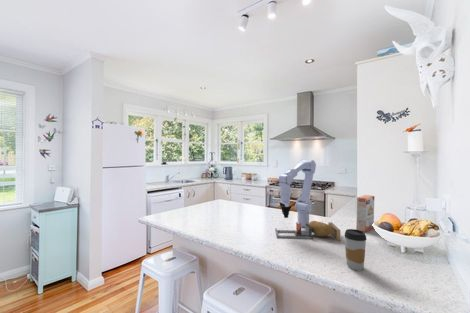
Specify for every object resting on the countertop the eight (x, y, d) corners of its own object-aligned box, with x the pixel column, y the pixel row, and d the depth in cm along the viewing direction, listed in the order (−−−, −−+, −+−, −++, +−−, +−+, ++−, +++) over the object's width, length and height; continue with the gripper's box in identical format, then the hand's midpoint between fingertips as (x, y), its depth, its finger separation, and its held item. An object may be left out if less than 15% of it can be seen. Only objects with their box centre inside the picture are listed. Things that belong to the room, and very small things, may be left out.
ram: (293, 231, 138) (293, 221, 138) (308, 232, 137) (308, 221, 137) (296, 237, 129) (296, 225, 129) (311, 237, 128) (311, 226, 128)
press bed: (275, 230, 142) (275, 221, 142) (331, 232, 139) (331, 222, 139) (277, 238, 128) (277, 228, 128) (340, 240, 125) (340, 230, 125)
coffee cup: (358, 262, 101) (359, 228, 100) (370, 271, 92) (371, 235, 92) (340, 262, 100) (340, 228, 100) (350, 272, 92) (350, 235, 92)
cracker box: (366, 232, 138) (366, 198, 137) (356, 230, 142) (356, 197, 142) (374, 227, 147) (374, 195, 146) (364, 225, 151) (364, 194, 151)
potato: (328, 241, 124) (328, 227, 124) (305, 234, 134) (305, 221, 134) (336, 237, 130) (336, 223, 130) (314, 231, 141) (314, 218, 141)
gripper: (277, 191, 146) (277, 212, 147) (280, 196, 132) (279, 219, 132) (288, 191, 146) (288, 212, 146) (292, 196, 131) (292, 219, 132)
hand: (285, 215), depth 139 cm, fingers open, 7 cm apart
